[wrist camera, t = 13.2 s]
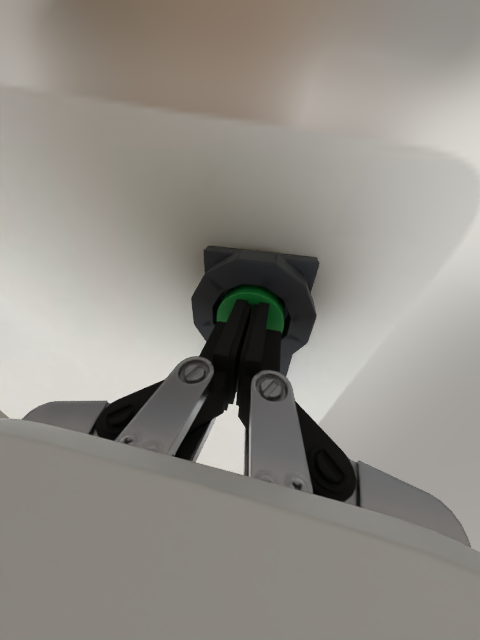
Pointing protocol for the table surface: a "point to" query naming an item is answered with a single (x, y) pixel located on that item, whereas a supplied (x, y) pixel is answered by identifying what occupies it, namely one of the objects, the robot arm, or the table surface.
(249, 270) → the button block
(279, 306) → the button
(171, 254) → the table surface
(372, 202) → the table surface
